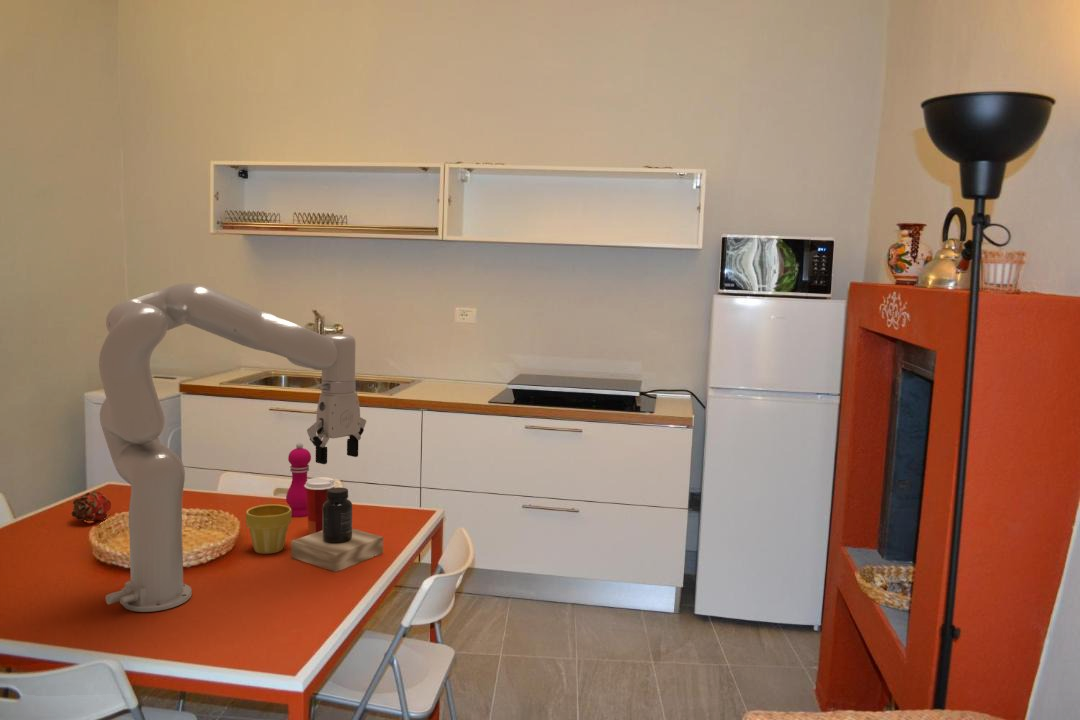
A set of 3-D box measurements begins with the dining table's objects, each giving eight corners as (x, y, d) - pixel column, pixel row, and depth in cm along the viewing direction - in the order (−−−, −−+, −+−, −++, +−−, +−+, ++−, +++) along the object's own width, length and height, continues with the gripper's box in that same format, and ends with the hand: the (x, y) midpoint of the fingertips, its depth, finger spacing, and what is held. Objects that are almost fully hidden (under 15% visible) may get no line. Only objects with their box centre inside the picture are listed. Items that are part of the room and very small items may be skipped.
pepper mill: (286, 510, 217) (286, 440, 214) (313, 508, 219) (313, 439, 217) (285, 518, 210) (285, 446, 208) (313, 516, 212) (313, 445, 210)
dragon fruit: (82, 535, 196) (94, 527, 207) (113, 513, 198) (122, 506, 210) (60, 509, 195) (73, 502, 206) (91, 487, 197) (102, 482, 208)
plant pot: (271, 538, 193) (271, 501, 192) (300, 547, 188) (300, 508, 187) (236, 550, 185) (236, 511, 184) (266, 560, 179) (265, 519, 178)
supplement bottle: (351, 533, 187) (352, 485, 186) (352, 543, 181) (352, 493, 180) (322, 535, 186) (322, 486, 184) (322, 545, 179) (322, 494, 178)
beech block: (336, 572, 174) (336, 554, 173) (291, 557, 181) (291, 540, 181) (382, 553, 186) (383, 537, 186) (339, 540, 194) (339, 524, 194)
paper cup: (339, 529, 202) (340, 477, 200) (329, 539, 194) (329, 485, 193) (311, 527, 203) (311, 475, 201) (299, 537, 195) (299, 483, 194)
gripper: (320, 393, 170) (319, 469, 172) (376, 385, 185) (375, 455, 187) (297, 389, 174) (297, 463, 176) (354, 382, 189) (352, 451, 190)
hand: (337, 459), depth 181 cm, fingers open, 9 cm apart
